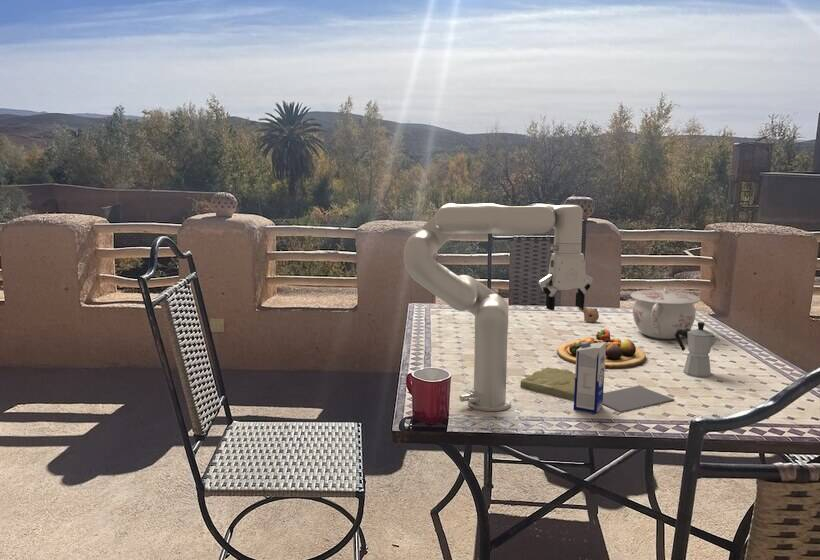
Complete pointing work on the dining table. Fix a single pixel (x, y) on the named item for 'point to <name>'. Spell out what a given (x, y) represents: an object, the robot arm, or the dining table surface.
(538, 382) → the decorative tile
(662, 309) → the chamber pot
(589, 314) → the oil lamp
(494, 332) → the robot arm
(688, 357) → the coffee maker
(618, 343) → the wooden plate with food
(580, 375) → the milk carton
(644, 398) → the mat
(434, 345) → the dining table surface
